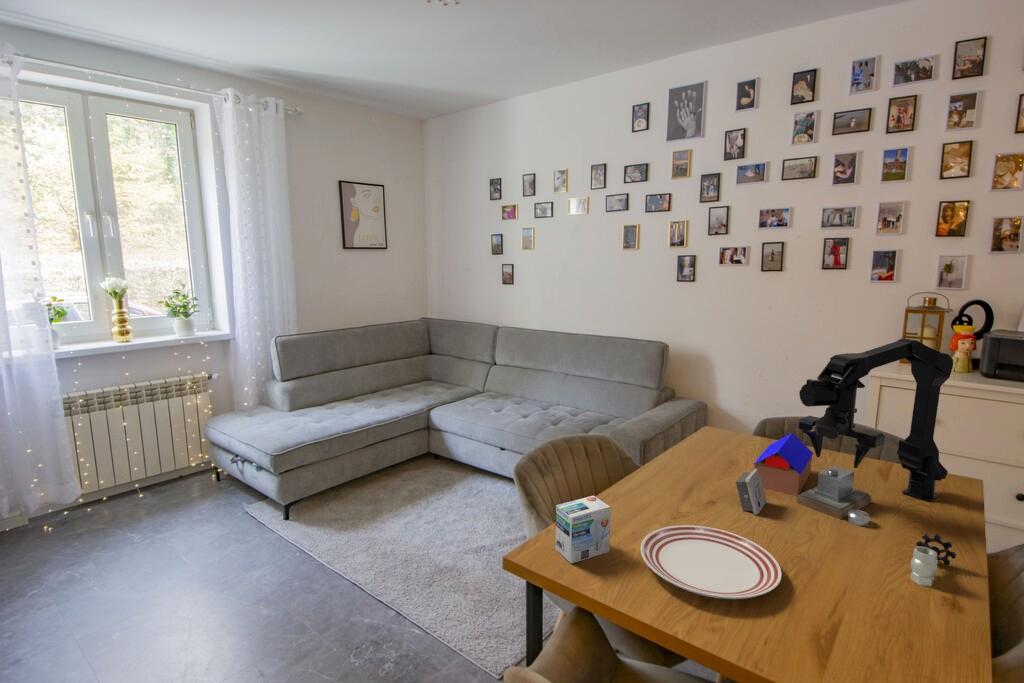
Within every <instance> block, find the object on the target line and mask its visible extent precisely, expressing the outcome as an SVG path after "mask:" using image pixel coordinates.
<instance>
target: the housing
mask: <svg viewBox="0 0 1024 683" xmlns="http://www.w3.org/2000/svg"><path fill="white" fill-rule="evenodd" d="M854 478H855V471H853V470H850V469H846V468H842V467H840V466H835V465H833V466H830V467H828V468H826V469H824V470H822V471H819V472H818V477H817V486H818V488H817V489H816V490H814V494H816V495H819V496H821V497H824V498H827V499H830V500H833V501H835V502H840V501H842V500H844V499H846V498H848V497H850V496H852V495H854V494H855V491H856V490H857V489H856V490H854V489H855V488H853V487H854V480H855V479H854Z"/></svg>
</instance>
